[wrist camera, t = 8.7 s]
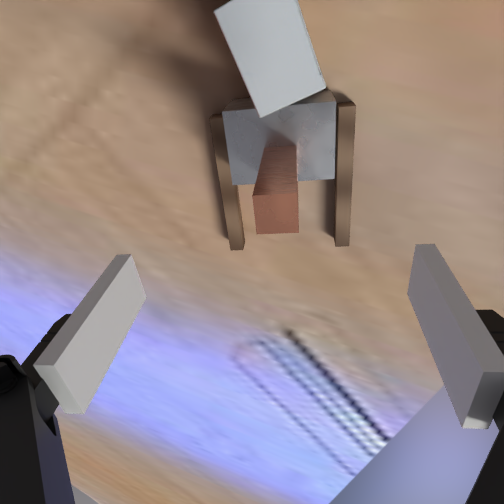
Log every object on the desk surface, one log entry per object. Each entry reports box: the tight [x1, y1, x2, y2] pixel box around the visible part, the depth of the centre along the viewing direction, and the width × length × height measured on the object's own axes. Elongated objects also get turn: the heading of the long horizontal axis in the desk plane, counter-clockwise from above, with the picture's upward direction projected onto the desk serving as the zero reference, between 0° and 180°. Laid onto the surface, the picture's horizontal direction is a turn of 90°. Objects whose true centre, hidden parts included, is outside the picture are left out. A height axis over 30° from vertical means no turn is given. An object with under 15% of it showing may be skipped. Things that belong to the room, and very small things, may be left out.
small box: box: [214, 0, 326, 118], centre depth 29 cm, size 8×6×10 cm
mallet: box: [222, 90, 336, 234], centre depth 31 cm, size 7×10×17 cm
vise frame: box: [209, 102, 356, 250], centre depth 34 cm, size 28×15×9 cm, turn 6°
